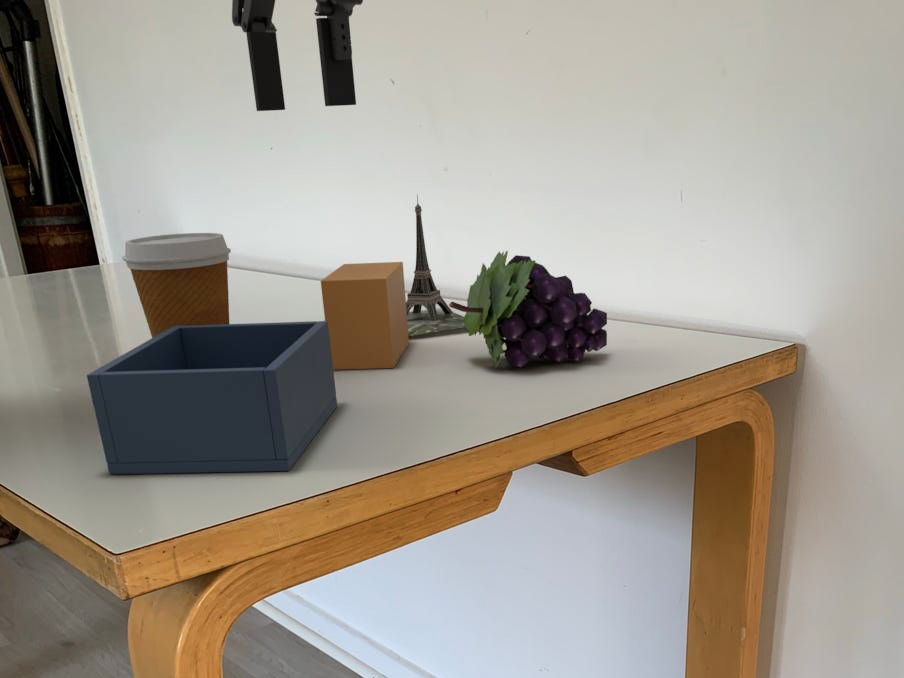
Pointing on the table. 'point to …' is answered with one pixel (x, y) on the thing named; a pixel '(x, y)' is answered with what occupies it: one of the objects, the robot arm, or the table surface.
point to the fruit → (531, 313)
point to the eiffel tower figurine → (427, 294)
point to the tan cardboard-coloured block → (366, 315)
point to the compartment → (215, 398)
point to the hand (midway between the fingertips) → (304, 108)
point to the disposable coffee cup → (180, 279)
